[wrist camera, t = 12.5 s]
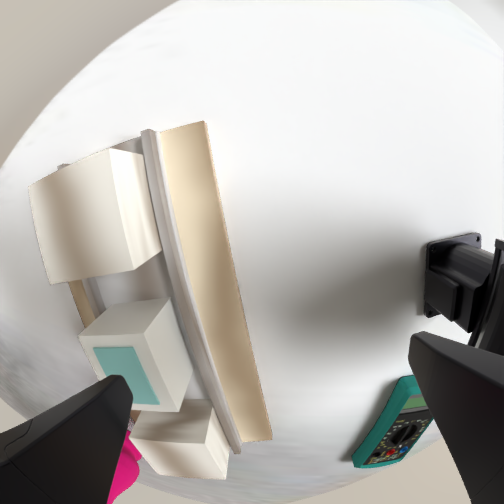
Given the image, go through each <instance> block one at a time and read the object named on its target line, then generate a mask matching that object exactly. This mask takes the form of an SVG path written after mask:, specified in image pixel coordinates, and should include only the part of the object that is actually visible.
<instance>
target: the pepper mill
mask: <svg viewBox="0 0 504 504" xmlns="http://www.w3.org/2000/svg"><path fill="white" fill-rule="evenodd" d="M130 433H131V432H130V431H128V430H127V433H126V437H125V441H124V444H123V447H122V451H121V454H120V457H119V461H118V464H117V468H116V471H115V475H114V478H113V482H112V486H111V490H110V493H109V497H108V501H107V504H112V503H113V501H114V500H115V499H116V497H117V496H118V495H119V494H121V493H122V492H123V491H125V490H126V489H128V488H129V487H130V486H131V485H132V484H133V483H134V482H135V481H136V479H137V477H138V475H139V471H140V470H139V466H138V463H137V461H138V460H140V459H141V456H142V455H141V453H140V452H139V451H138V449H137V448H136V447H135V446H134V444H133V443H132V442H131V440H130V439H129V435H130Z"/></svg>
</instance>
